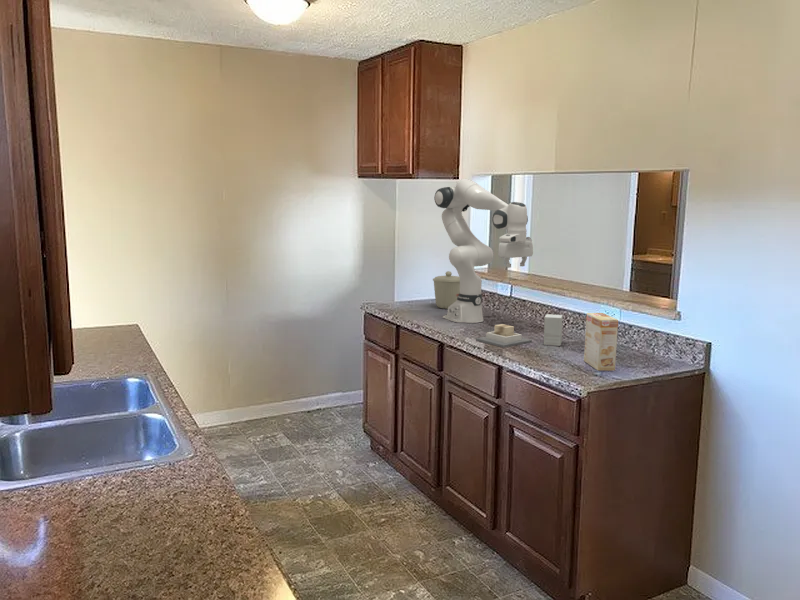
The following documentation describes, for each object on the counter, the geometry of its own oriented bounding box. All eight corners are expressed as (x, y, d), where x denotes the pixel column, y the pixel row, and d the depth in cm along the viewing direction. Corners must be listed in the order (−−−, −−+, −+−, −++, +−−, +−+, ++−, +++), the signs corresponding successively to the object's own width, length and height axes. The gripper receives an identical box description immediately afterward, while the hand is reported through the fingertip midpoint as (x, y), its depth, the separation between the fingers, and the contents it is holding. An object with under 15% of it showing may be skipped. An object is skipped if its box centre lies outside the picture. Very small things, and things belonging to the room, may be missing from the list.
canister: (429, 305, 388) (430, 269, 384) (460, 304, 390) (461, 269, 386) (434, 310, 370) (435, 273, 367) (466, 310, 372) (467, 273, 369)
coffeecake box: (615, 370, 247) (619, 319, 244) (597, 371, 246) (600, 319, 243) (600, 360, 262) (603, 312, 258) (583, 361, 261) (585, 312, 258)
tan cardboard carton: (494, 338, 295) (494, 325, 295) (502, 337, 298) (502, 324, 298) (505, 341, 290) (506, 327, 289) (513, 339, 293) (514, 326, 292)
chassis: (475, 340, 296) (476, 332, 295) (503, 335, 306) (504, 328, 306) (503, 347, 282) (503, 339, 282) (531, 342, 293) (532, 334, 293)
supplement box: (561, 342, 293) (563, 314, 291) (560, 346, 286) (561, 317, 284) (545, 341, 295) (546, 313, 293) (542, 345, 288) (544, 316, 286)
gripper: (526, 236, 317) (525, 265, 319) (496, 237, 304) (495, 267, 307) (536, 237, 312) (535, 266, 314) (506, 238, 299) (505, 268, 302)
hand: (515, 266), depth 310 cm, fingers open, 8 cm apart
